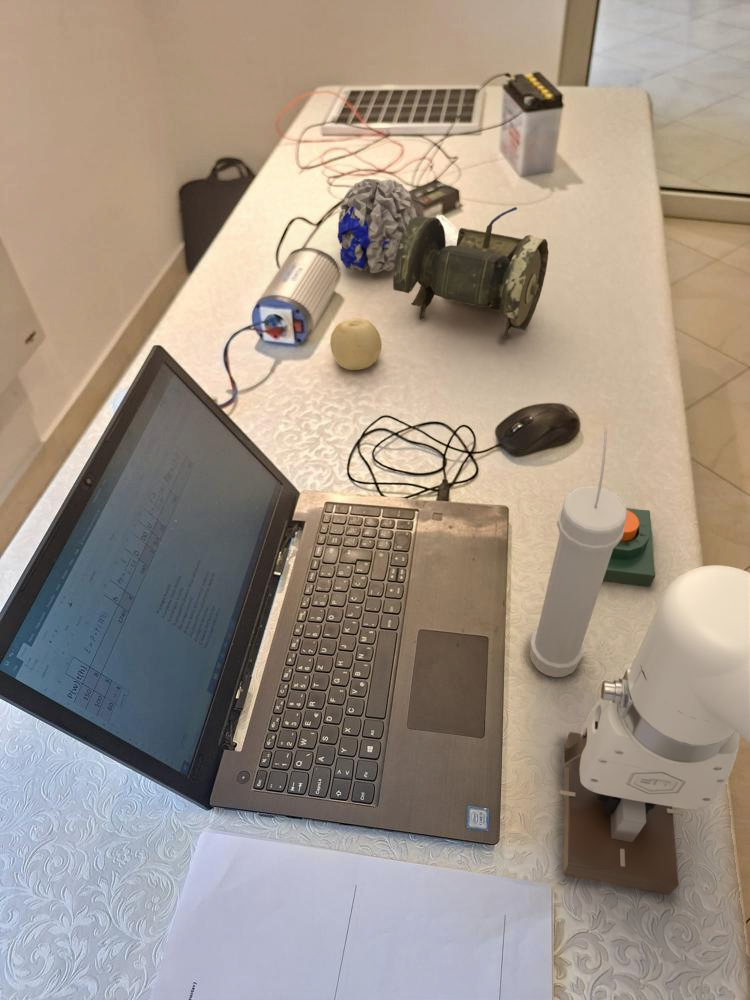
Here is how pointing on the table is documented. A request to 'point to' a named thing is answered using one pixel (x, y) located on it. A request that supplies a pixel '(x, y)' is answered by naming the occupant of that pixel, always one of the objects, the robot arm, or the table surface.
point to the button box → (634, 556)
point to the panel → (615, 841)
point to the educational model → (373, 224)
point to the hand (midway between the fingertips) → (621, 800)
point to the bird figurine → (449, 231)
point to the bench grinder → (472, 269)
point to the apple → (355, 344)
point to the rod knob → (628, 820)
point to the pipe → (576, 575)
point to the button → (630, 527)
